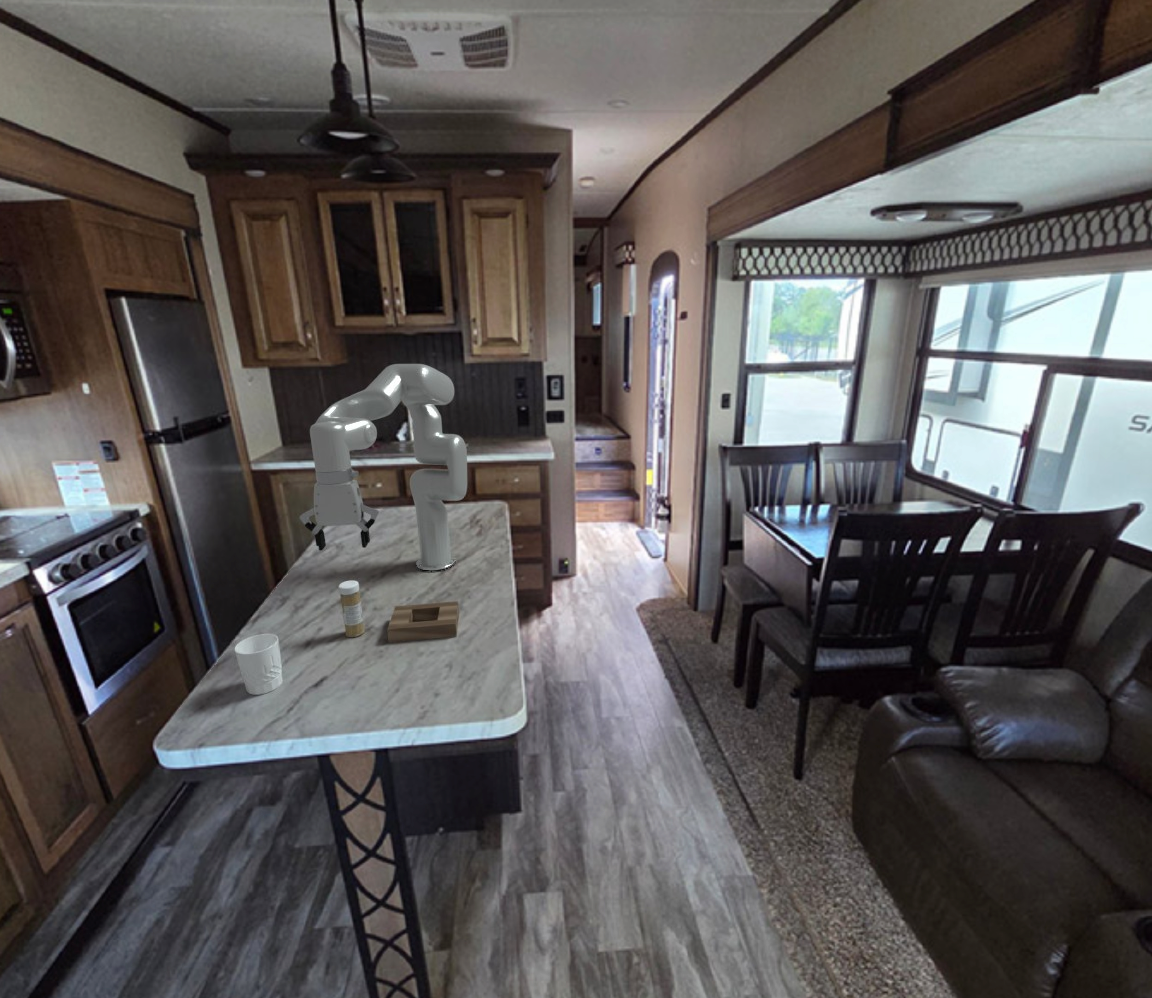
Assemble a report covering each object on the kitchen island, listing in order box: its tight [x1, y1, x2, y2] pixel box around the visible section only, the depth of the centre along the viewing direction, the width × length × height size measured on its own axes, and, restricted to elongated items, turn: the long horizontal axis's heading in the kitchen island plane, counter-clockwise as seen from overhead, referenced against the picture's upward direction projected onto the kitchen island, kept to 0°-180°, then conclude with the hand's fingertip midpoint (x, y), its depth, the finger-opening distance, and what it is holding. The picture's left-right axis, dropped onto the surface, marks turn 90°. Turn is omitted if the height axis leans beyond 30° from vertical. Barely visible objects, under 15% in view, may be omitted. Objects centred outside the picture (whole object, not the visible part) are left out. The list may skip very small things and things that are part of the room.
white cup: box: [233, 633, 284, 696], centre depth 113 cm, size 8×8×10 cm
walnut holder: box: [386, 600, 460, 643], centre depth 136 cm, size 12×16×4 cm
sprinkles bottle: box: [338, 580, 366, 638], centre depth 132 cm, size 5×5×14 cm
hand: (344, 547), depth 128 cm, fingers open, 9 cm apart
